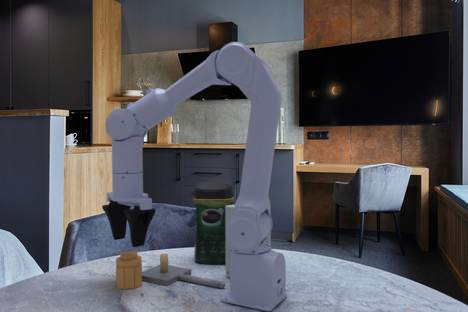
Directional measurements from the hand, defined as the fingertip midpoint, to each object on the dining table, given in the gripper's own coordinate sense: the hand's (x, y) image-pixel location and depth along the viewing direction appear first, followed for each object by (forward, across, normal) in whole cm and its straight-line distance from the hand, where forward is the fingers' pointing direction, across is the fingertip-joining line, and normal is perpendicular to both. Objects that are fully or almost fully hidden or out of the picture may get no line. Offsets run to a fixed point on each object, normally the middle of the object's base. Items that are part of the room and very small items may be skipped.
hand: (128, 242), depth 77 cm
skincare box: (+8, -12, -21) cm, 26 cm away
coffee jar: (+8, +1, -23) cm, 24 cm away
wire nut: (+8, 0, 0) cm, 8 cm away
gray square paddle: (+8, -6, -9) cm, 14 cm away
